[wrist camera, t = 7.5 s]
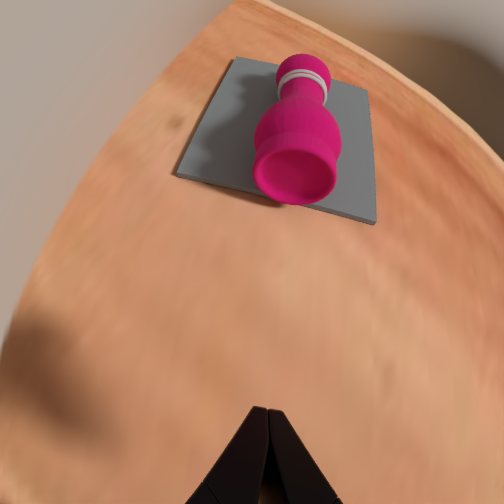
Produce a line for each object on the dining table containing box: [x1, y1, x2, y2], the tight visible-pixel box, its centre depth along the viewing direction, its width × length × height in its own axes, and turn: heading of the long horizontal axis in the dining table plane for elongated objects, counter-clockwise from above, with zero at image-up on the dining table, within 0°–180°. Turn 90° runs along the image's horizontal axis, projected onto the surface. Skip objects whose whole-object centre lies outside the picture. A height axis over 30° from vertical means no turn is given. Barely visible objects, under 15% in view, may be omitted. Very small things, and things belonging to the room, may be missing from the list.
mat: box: [176, 57, 377, 225], centre depth 32 cm, size 22×18×1 cm
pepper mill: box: [252, 54, 342, 205], centre depth 28 cm, size 7×7×20 cm
